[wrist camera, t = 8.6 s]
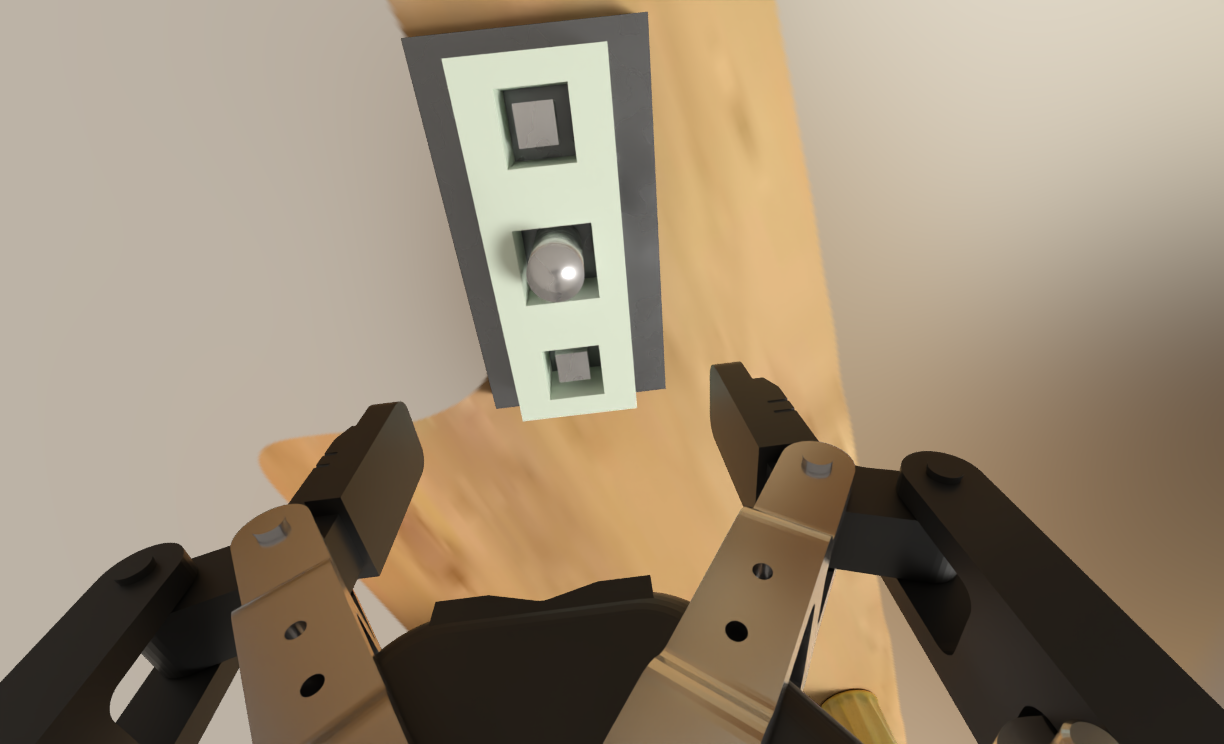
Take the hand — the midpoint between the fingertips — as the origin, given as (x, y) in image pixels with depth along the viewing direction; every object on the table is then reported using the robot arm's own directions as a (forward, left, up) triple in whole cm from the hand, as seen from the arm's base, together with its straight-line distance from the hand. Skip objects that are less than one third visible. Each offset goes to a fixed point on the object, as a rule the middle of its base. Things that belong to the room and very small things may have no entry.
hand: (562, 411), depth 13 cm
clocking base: (+1, 0, -15) cm, 15 cm away
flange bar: (+1, 0, -13) cm, 13 cm away
